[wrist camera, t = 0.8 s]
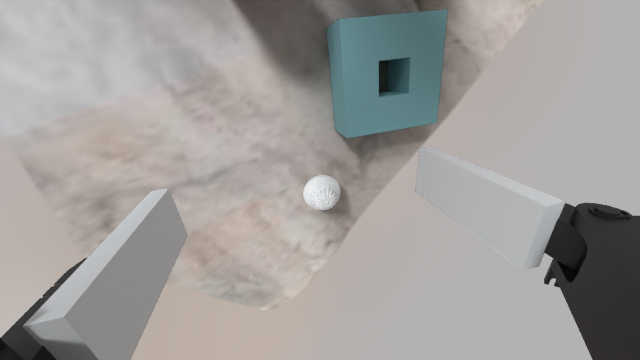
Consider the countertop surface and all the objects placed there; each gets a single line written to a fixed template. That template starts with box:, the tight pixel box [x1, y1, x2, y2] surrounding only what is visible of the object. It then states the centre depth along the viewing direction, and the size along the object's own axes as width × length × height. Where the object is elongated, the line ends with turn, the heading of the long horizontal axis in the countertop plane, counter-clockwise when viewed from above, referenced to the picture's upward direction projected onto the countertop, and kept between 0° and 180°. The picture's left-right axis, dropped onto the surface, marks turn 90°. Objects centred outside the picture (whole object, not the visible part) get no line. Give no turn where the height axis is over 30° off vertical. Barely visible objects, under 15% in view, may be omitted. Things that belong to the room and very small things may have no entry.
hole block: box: [326, 9, 448, 138], centre depth 34 cm, size 14×14×6 cm
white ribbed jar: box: [303, 175, 340, 210], centre depth 38 cm, size 6×6×7 cm
